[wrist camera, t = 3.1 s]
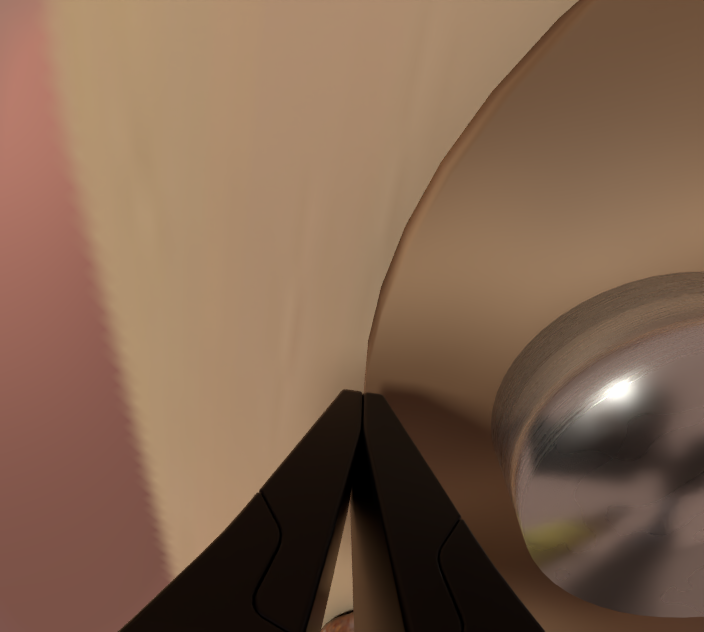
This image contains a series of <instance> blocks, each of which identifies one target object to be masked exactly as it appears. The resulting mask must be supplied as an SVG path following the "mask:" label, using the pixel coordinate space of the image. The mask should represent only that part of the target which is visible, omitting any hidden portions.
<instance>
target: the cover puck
mask: <svg viewBox="0 0 704 632" xmlns="http://www.w3.org/2000/svg"><path fill="white" fill-rule="evenodd" d="M491 433H492V441H493V445H494V448H495V452H496V455H497V458H498V461H499V464H500V467H501V470H502V473H503V476H504V479H505V483H506V486H507V489H508V492H509V495H510V498H511V501H512V504H513V507H514V510H515V513H516V516H517V519H518V522H519V525H520V528H521V531H522V534H523V537H524V540H525V543H526V546H527V548H528V550H529V553H530V555H531V557H532V559H533V560H534V562H535V563H536V564H537V566H538V567H539V568H540V570H541V571H542V572H543V573H544V574H545V575H546V576H547V577H548V578H549V579H550V580H551V581H552V582H554V583H555V584H556V585H558V586H559V587H561V588H562V589H564V590H565V591H566V592H568V593H570V594H572V595H574V596H576V597H578V598H580V599H582V600H584V601H586V602H589V603H592V604H594V605H597V606H600V607H603V608H607V609H611V610H615V611H618V612H623V613H629V614H635V615H642V616H653V617H676V618H687V617H704V271H698V272H677V273H671V274H665V275H658V276H652V277H648V278H645V279H641V280H637V281H633V282H630V283H626V284H623V285H621V286H618V287H616V288H613V289H610V290H608V291H605V292H602V293H600V294H598V295H596V296H594V297H592V298H590V299H588V300H586V301H584V302H582V303H580V304H579V305H577V306H575V307H574V308H572V309H571V310H569V311H567V312H566V313H564V314H563V315H561V316H560V317H558V318H557V319H556V320H554V321H553V322H552V323H551V324H549V325H548V326H547V327H546V328H544V329H543V330H542V331H541V332H540V333H539V334H538V335H537V336H536V337H535V338H533V339H532V340H531V341H530V342H529V343H528V344H527V345H526V346H525V348H524V349H523V350H522V351H521V353H520V354H519V355H518V356H517V358H516V359H515V360H514V361H513V363H512V364H511V366H510V368H509V369H508V371H507V373H506V374H505V376H504V378H503V380H502V382H501V384H500V387H499V389H498V391H497V394H496V397H495V401H494V405H493V409H492V417H491Z"/></svg>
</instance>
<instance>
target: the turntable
mask: <svg viewBox="0 0 704 632" xmlns="http://www.w3.org/2000/svg"><path fill="white" fill-rule="evenodd" d="M698 271H704V0H579V1H578V2H577V3H576V4H575V5H573V6H572V7H571V8H570V9H569V10H568V11H567V12H566V13H564V14H563V15H562V16H561V17H560V18H559V19H558V20H557V21H556V22H555V23H554V24H553V25H552V26H551V28H550V29H549V30H548V31H547V32H546V33H545V34H544V35H543V36H542V37H541V39H540V40H539V41H538V42H537V43H536V44H535V45H534V46H533V47H532V48H531V50H530V51H529V52H528V53H527V54H526V55H525V56H524V57H523V58H522V59H521V61H520V62H519V63H518V64H517V65H516V66H515V67H514V68H513V69H512V70H511V72H510V73H509V74H508V75H507V76H506V77H505V78H504V79H503V80H502V81H501V83H500V84H499V85H498V86H497V87H496V88H495V89H494V90H493V91H492V93H491V94H490V95H489V97H488V98H487V99H486V101H485V102H484V104H483V105H482V106H481V108H480V109H479V110H478V112H477V113H476V115H475V116H474V117H473V119H472V120H471V122H470V123H469V124H468V126H467V127H466V128H465V130H464V131H463V133H462V134H461V135H460V137H459V138H458V140H457V141H456V142H455V144H454V145H453V146H452V148H451V149H450V151H449V152H448V153H447V155H446V156H445V158H444V159H443V160H442V162H441V163H440V165H439V167H438V169H437V171H436V172H435V174H434V176H433V178H432V180H431V181H430V183H429V185H428V187H427V189H426V190H425V192H424V194H423V196H422V198H421V199H420V201H419V203H418V205H417V207H416V208H415V210H414V212H413V214H412V216H411V217H410V219H409V221H408V223H407V225H406V226H405V229H404V231H403V234H402V236H401V239H400V241H399V244H398V246H397V249H396V251H395V254H394V256H393V259H392V261H391V264H390V266H389V269H388V271H387V274H386V276H385V279H384V281H383V284H382V286H381V290H380V295H379V299H378V303H377V307H376V311H375V315H374V319H373V323H372V327H371V332H370V336H369V340H368V350H367V362H366V373H365V385H364V393H365V392H369V393H377V394H382V395H383V396H384V397H385V398H386V400H387V401H388V403H389V405H390V406H391V408H392V409H393V411H394V412H395V414H396V415H397V417H398V419H399V420H400V422H401V423H402V425H403V426H404V428H405V429H406V431H407V433H408V434H409V436H410V437H411V439H412V440H413V442H414V443H415V445H416V447H417V448H418V450H419V451H420V453H421V454H422V456H423V457H424V459H425V461H426V462H427V464H428V465H429V467H430V468H431V470H432V471H433V473H434V475H435V476H436V478H437V479H438V481H439V482H440V484H441V485H442V487H443V489H444V490H445V492H446V493H447V495H448V496H449V498H450V499H451V501H452V503H453V504H454V506H455V507H456V509H457V510H458V512H459V513H460V515H461V519H463V520H464V521H465V522H466V524H467V526H468V527H469V529H470V530H471V532H472V533H473V535H474V537H475V538H476V539H477V541H478V542H479V544H480V545H481V547H482V548H483V550H484V551H485V553H486V554H487V556H488V557H489V559H490V560H491V561H492V563H493V564H494V566H495V567H496V568H497V570H498V571H499V572H500V574H501V575H502V576H503V578H504V579H505V580H506V582H507V583H508V584H509V586H510V587H511V588H512V590H513V591H514V592H515V594H516V595H517V596H518V597H519V599H520V600H521V601H522V603H523V604H524V605H525V606H526V608H527V609H528V610H529V611H530V613H531V614H532V615H533V616H534V618H535V619H536V620H537V621H538V623H539V624H540V625H541V627H542V628H543V629H544V630H545V632H704V617H687V618H676V617H653V616H642V615H635V614H629V613H623V612H618V611H615V610H611V609H607V608H603V607H600V606H597V605H594V604H592V603H589V602H586V601H584V600H582V599H580V598H578V597H576V596H574V595H572V594H570V593H568V592H566V591H565V590H564V589H562V588H561V587H559V586H558V585H556V584H555V583H554V582H552V581H551V580H550V579H549V578H548V577H547V576H546V575H545V574H544V573H543V572H542V571H541V570H540V568H539V567H538V566H537V564H536V563H535V562H534V560H533V559H532V557H531V555H530V553H529V550H528V548H527V546H526V543H525V540H524V537H523V534H522V531H521V528H520V525H519V522H518V519H517V516H516V513H515V510H514V507H513V504H512V501H511V498H510V495H509V492H508V489H507V486H506V483H505V479H504V476H503V473H502V470H501V467H500V464H499V461H498V458H497V455H496V452H495V448H494V445H493V441H492V433H491V417H492V409H493V405H494V401H495V397H496V394H497V391H498V389H499V387H500V384H501V382H502V380H503V378H504V376H505V374H506V373H507V371H508V369H509V368H510V366H511V364H512V363H513V361H514V360H515V359H516V358H517V356H518V355H519V354H520V353H521V351H522V350H523V349H524V348H525V346H526V345H527V344H528V343H529V342H530V341H531V340H532V339H533V338H535V337H536V336H537V335H538V334H539V333H540V332H541V331H542V330H543V329H544V328H546V327H547V326H548V325H549V324H551V323H552V322H553V321H554V320H556V319H557V318H558V317H560V316H561V315H563V314H564V313H566V312H567V311H569V310H571V309H572V308H574V307H575V306H577V305H579V304H580V303H582V302H584V301H586V300H588V299H590V298H592V297H594V296H596V295H598V294H600V293H602V292H605V291H608V290H610V289H613V288H616V287H618V286H621V285H623V284H626V283H630V282H633V281H637V280H641V279H645V278H648V277H652V276H658V275H665V274H671V273H677V272H698Z"/></svg>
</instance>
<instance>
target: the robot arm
mask: <svg viewBox="0 0 704 632" xmlns="http://www.w3.org/2000/svg"><path fill="white" fill-rule="evenodd" d="M350 495H351V541H352V575H353V610H354V632H545V630H544V629H543V628H542V627H541V625H540V624H539V623H538V621H537V620H536V619H535V618H534V616H533V615H532V614H531V613H530V611H529V610H528V609H527V608H526V606H525V605H524V604H523V603H522V601H521V600H520V599H519V597H518V596H517V595H516V594H515V592H514V591H513V590H512V588H511V587H510V586H509V584H508V583H507V582H506V580H505V579H504V578H503V576H502V575H501V574H500V572H499V571H498V570H497V568H496V567H495V566H494V564H493V563H492V561H491V560H490V559H489V557H488V556H487V554H486V553H485V551H484V550H483V548H482V547H481V545H480V544H479V542H478V541H477V539H476V538H475V537H474V535H473V533H472V532H471V530H470V529H469V527H468V526H467V524H466V522H465V521H464V520H463V519H461V515H460V513H459V512H458V510H457V509H456V507H455V506H454V504H453V503H452V501H451V499H450V498H449V496H448V495H447V493H446V492H445V490H444V489H443V487H442V485H441V484H440V482H439V481H438V479H437V478H436V476H435V475H434V473H433V471H432V470H431V468H430V467H429V465H428V464H427V462H426V461H425V459H424V457H423V456H422V454H421V453H420V451H419V450H418V448H417V447H416V445H415V443H414V442H413V440H412V439H411V437H410V436H409V434H408V433H407V431H406V429H405V428H404V426H403V425H402V423H401V422H400V420H399V419H398V417H397V415H396V414H395V412H394V411H393V409H392V408H391V406H390V405H389V403H388V401H387V400H386V398H385V397H384V396H383V395H382V394H377V393H369V392H365V393H364V394H362V392H360V391H354V390H347V389H344V390H342V391H341V392H340V394H339V395H338V396H337V397H336V398H335V400H334V401H333V402H332V403H331V405H330V406H329V407H328V408H327V409H326V411H325V412H324V413H323V414H322V415H321V417H320V418H319V419H318V420H317V421H316V423H315V424H314V425H313V426H312V427H311V429H310V430H309V431H308V432H307V433H306V435H305V436H304V437H303V438H302V439H301V441H300V442H299V443H298V444H297V445H296V447H295V448H294V449H293V450H292V451H291V453H290V454H289V455H288V456H287V457H286V459H285V460H284V461H283V462H282V463H281V465H280V466H279V467H278V468H277V470H276V471H275V472H274V473H273V474H272V476H271V477H270V478H269V479H268V480H267V482H266V483H265V484H264V485H263V486H262V488H261V489H260V490H259V493H256V494H255V496H254V497H253V498H252V499H251V501H250V502H249V503H248V504H247V505H246V507H245V508H244V509H243V510H242V511H241V512H240V513H239V515H238V516H237V517H236V518H235V519H234V520H233V521H232V522H231V523H230V525H229V526H228V527H227V528H226V529H225V530H224V531H223V532H222V533H221V534H220V535H219V536H218V537H217V538H216V539H215V540H214V541H213V542H212V543H211V544H210V545H209V546H208V547H207V548H206V549H205V550H204V551H203V552H202V553H201V554H200V555H199V556H198V557H197V558H196V559H195V560H194V561H193V562H192V563H191V564H190V565H188V566H187V567H186V568H185V569H184V570H183V571H182V572H181V573H180V574H179V575H178V576H177V577H176V578H175V579H174V580H173V581H172V582H170V583H169V584H168V585H167V586H166V587H165V588H164V589H163V590H162V591H161V592H160V593H159V594H158V595H157V596H156V597H155V598H154V599H153V600H151V601H150V602H149V603H148V604H147V605H146V606H145V607H144V608H143V609H142V610H141V611H140V612H139V613H138V614H137V615H136V616H135V617H133V618H132V619H131V620H130V621H129V622H128V623H127V624H126V625H125V626H124V627H123V628H121V629H120V630H119V631H118V632H321V627H322V623H323V618H324V614H325V609H326V605H327V601H328V596H329V592H330V587H331V583H332V578H333V574H334V569H335V565H336V561H337V556H338V552H339V547H340V543H341V538H342V534H343V529H344V525H345V520H346V516H347V512H348V506H349V501H350Z"/></svg>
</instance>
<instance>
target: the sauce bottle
mask: <svg viewBox="0 0 704 632" xmlns="http://www.w3.org/2000/svg"><path fill="white" fill-rule="evenodd" d="M321 632H354V612H352V613H350V614H347V615H342V616H340V617H337V618H334V619H333V620H331V621H329V622H328V623H327V624H326V625H325V626H324V627H323V628H322V629H321Z"/></svg>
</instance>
